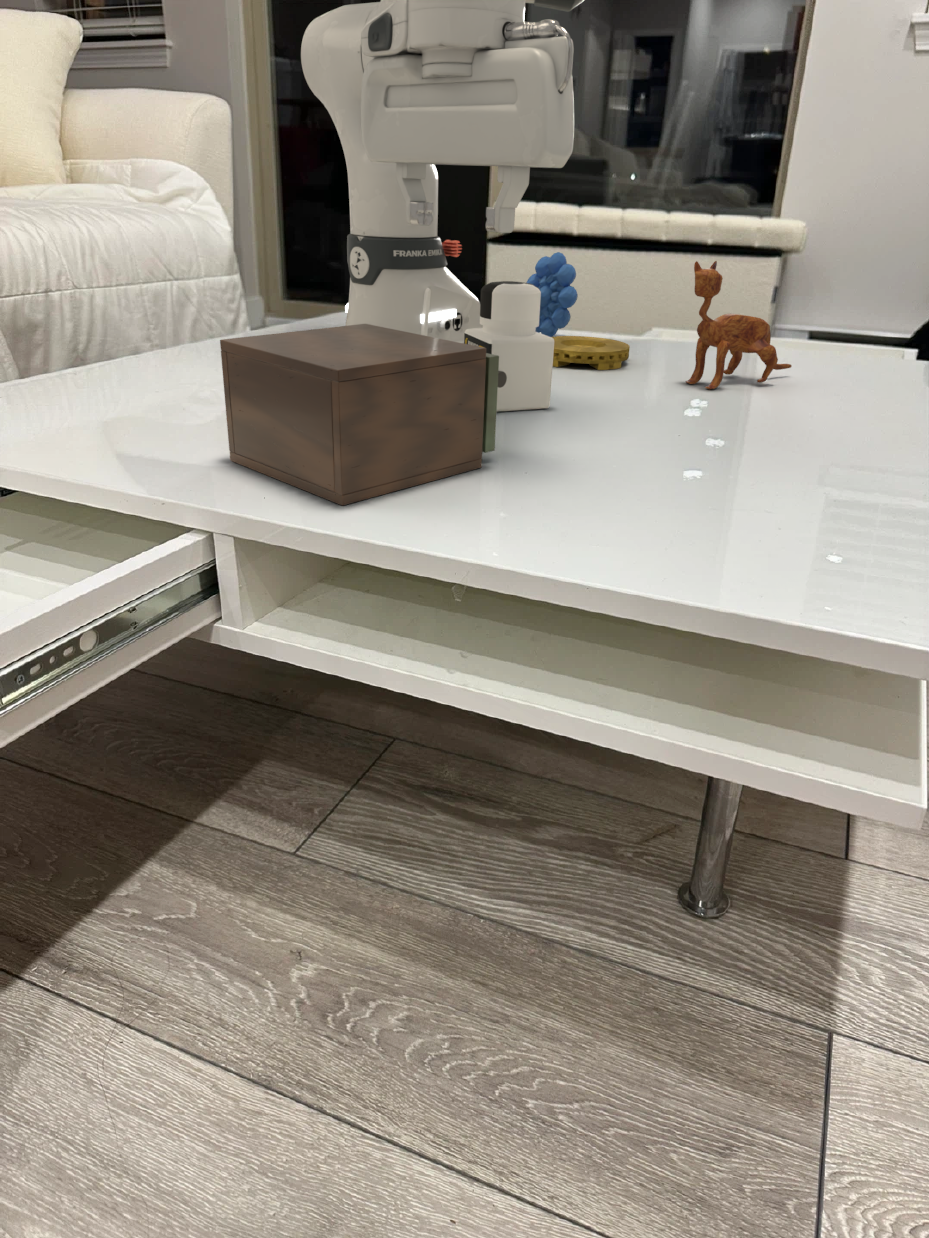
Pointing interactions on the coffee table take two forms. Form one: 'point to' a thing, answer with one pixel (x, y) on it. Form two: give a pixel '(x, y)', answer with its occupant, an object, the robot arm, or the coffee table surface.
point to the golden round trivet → (589, 351)
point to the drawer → (491, 400)
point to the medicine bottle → (515, 343)
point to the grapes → (554, 292)
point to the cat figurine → (729, 333)
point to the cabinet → (354, 408)
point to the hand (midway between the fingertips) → (457, 228)
